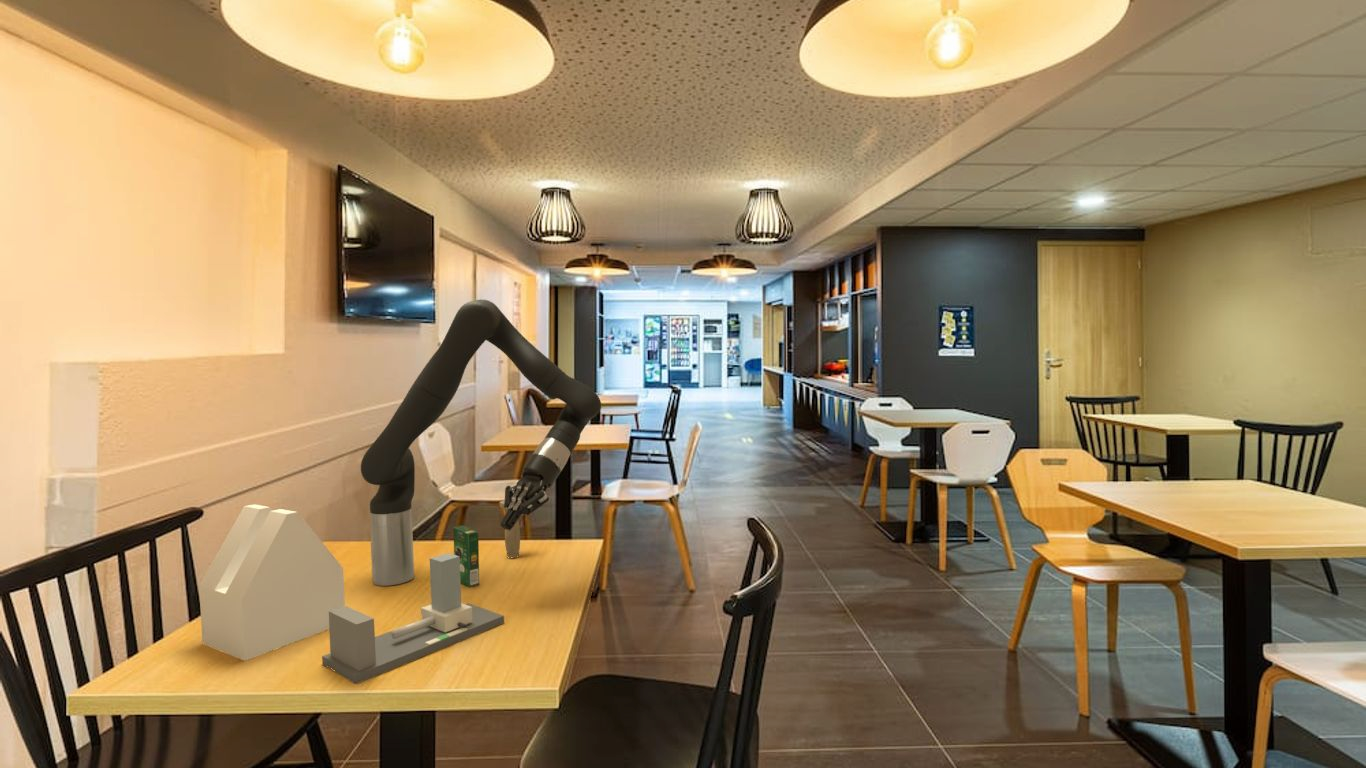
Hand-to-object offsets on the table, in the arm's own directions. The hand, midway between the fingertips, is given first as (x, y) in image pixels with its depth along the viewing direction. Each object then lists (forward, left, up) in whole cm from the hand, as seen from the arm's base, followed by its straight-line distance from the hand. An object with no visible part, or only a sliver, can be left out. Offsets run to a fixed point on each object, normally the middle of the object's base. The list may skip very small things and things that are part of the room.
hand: (504, 527), depth 141 cm
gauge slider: (+1, -18, -16) cm, 24 cm away
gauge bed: (0, -20, -17) cm, 27 cm away
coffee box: (-21, +5, -18) cm, 28 cm away
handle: (-28, +24, -18) cm, 41 cm away
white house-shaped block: (-28, -34, -18) cm, 48 cm away
